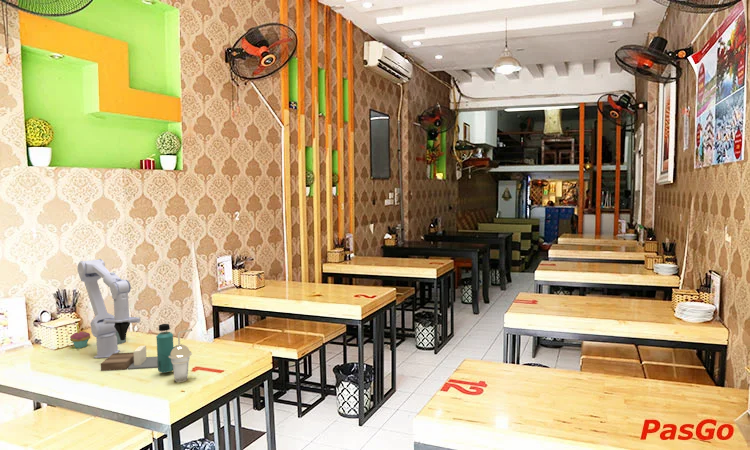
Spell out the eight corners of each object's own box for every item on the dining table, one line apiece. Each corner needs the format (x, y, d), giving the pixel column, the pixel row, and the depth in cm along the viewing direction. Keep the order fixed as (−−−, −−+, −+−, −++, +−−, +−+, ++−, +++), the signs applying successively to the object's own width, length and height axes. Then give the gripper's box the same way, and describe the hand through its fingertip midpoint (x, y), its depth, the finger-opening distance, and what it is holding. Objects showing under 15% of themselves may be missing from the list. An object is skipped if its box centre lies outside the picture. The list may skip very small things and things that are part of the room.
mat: (138, 358, 230) (138, 357, 230) (167, 357, 232) (167, 355, 231) (127, 369, 216) (127, 368, 216) (158, 367, 218) (158, 366, 218)
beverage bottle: (178, 371, 212) (176, 322, 211) (167, 377, 206) (165, 327, 205) (165, 370, 215) (163, 321, 213) (153, 375, 208) (151, 325, 207)
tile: (139, 345, 227) (145, 345, 227) (140, 359, 227) (146, 359, 228) (133, 351, 219) (139, 351, 219) (134, 365, 219) (140, 365, 220)
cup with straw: (182, 374, 208) (180, 325, 207) (198, 378, 204) (196, 327, 202) (164, 381, 201) (162, 330, 200) (180, 385, 196) (178, 333, 195)
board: (113, 360, 229) (113, 353, 229) (137, 358, 230) (137, 352, 230) (100, 370, 215) (100, 363, 215) (126, 369, 216) (126, 362, 216)
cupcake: (84, 349, 247) (83, 323, 246) (66, 349, 247) (65, 324, 246) (94, 343, 255) (93, 319, 254) (77, 344, 255) (75, 319, 254)
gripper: (100, 311, 221) (101, 343, 222) (136, 309, 223) (137, 341, 224) (106, 307, 228) (108, 338, 229) (141, 306, 230) (142, 336, 231)
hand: (123, 339), depth 227 cm, fingers closed
